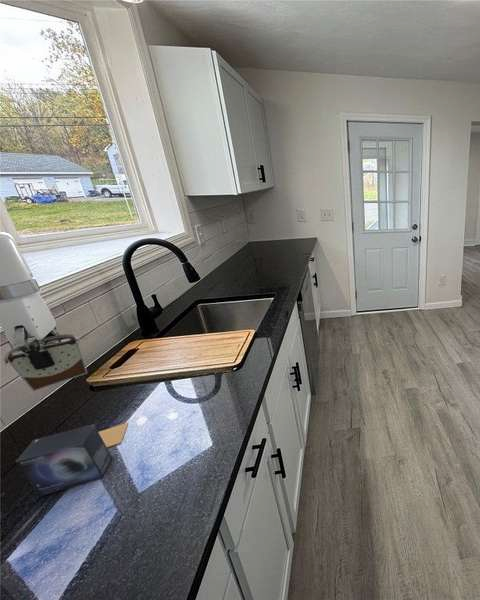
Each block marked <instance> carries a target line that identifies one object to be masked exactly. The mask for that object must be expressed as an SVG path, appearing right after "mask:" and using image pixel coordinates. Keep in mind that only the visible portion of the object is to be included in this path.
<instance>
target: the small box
mask: <svg viewBox="0 0 480 600" xmlns="http://www.w3.org/2000/svg"><path fill="white" fill-rule="evenodd" d="M98 432H99V431H98V428H97V426H96V424H95V423H92V424H88V425H85V426H81V427H77V428H73V429H70V430H65V431H62V432H58V433H55V434H51V435H47V436H43V437H40V438H35V439H33V440H32V441H31V442H30V443H29V445H28V446H26V449H25V450H24V451H23V452H22V453H21V454H20V456H19V457H18V458H17V459H16V461H15V463H16V464H17V465H18V466H19V468H20V469H21V470H22V472H23V473H24V475H25V476H26V478H27V479H28V480H29V482H30V483H31V484H32V486H33V487H34V489H35V490H36V491H37V493H38V494H39V495H40V497H42V498H43V497H45V496H47V495H51V494H54V493H58V492H62V491H65V490H67V489H71V488H74V487H76V486H80V485H83V484H86V483H90V482H93V481H97V480H100V479H102V478H103V477H104V476H105V474H106V472H107V470H108V468H109V466H110V464H111V462H112V460H113V459H114V457H113V455H112V454H111V452H110V450H109V448H107V447H106V445H105V443H104V441H103V440H102V438H101V436H100V434H99V433H98Z"/></svg>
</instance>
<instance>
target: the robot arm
mask: <svg viewBox="0 0 480 600" xmlns="http://www.w3.org/2000/svg"><path fill="white" fill-rule="evenodd" d="M40 293H42V290H41V288H40V285H39V284H38V282H37V280H36V277H35V276H34V275H33V273H32V270H31V268H30V266H29V264H28V262H27V260H26V259H25V257H24V255H23V253H22V251H21V249H20V247H19V245H18V243H17V242H16V240H15V238H14V237H13V236H12V235H11V234H9V233H6V232H0V326H1V329H2V331H3V332H4V334H5V336H6V338H7V340H8V341H9V344H10V345H12V346H15V348H18V349H20V350H21V351H22V352H24V353H25V355H26V356H28V358H29V360H30V361H31V363H32V365H33V366H34V368H35V369H36V370H39V369H43V368H47V367H51V366H54V365H55V362H54V361H53V359H52V357H51V355H50V353H49V352H48V350H45V349H44V345H43V341H42V339H43V338H47V337H51V336H56V335H60V333H59V332H58V331H57V321H56V319H55V317H54V316H53V315H54V314H52V311H51V310H50V308H49V306H48V305H47V303H46V301H45V300H44V299H43V296H42V295H41V294H40ZM33 338H34V339H33ZM31 343H37V346H35V345H30V344H31Z"/></svg>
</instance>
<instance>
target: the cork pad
mask: <svg viewBox="0 0 480 600" xmlns="http://www.w3.org/2000/svg"><path fill="white" fill-rule="evenodd" d="M128 425H129V422H125V423H122V424H119V425H115V426H113V427H110V428H107V429H103V430H100V431H98V433H99V434H100V436H101V438H102V440H103V441H104V443H105V445H106V447H107V448H108V449H109V448H112V447H115V446H117V445H120V444H122V441H123V439H124V436H125V434H126V432H127V428H128Z"/></svg>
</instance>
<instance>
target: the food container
mask: <svg viewBox="0 0 480 600" xmlns="http://www.w3.org/2000/svg"><path fill="white" fill-rule="evenodd" d="M42 341H43V345H44V349H45V350H48V352H49V353H50V355H51V357H52V359H53V361H54V362H55V365H54V366H51V367H47V368H43V369H39V370H36V369H35V368H34V366H33V365H32V363H31V361H30V360H29V358H28V356H26V355H25V353H24V352H22V351H21V350H20V349H18V348H17V347H14V348H13V349H11V350H9V351H7V352H6V353H5V354H4V355H3V357H4V358H3V362H4V365H5V366H6V365H8V364H10V366H11V367H12V368H13V370H15V372H16V373H17V374H18V375H19V376H20V378H21V379H22V380H23V381H24V382H25V383H26V384H27V386H28V387H29V388H30V390H31V391H32V392H36V391H39V390H42V389H45V388H48V387H51V386H54V385H57V384H60V383H63V382H66V381H69V380H72V379H75V378H79V377H81V376H85V375H87V374H88V369H87V367H86V364H85V361H84V358H83V355H82V352H81V349H80V346H79V343H80V344H82V343H83V342H82V341H81V340H80V339H79V337H78V336H76V335H74V334H73V333H72V334H71V333H64V334H62V333H61V334H59V335H56V336H51V337H47V338H43V339H42ZM30 345H35V346H37V343H31V344H30Z"/></svg>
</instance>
